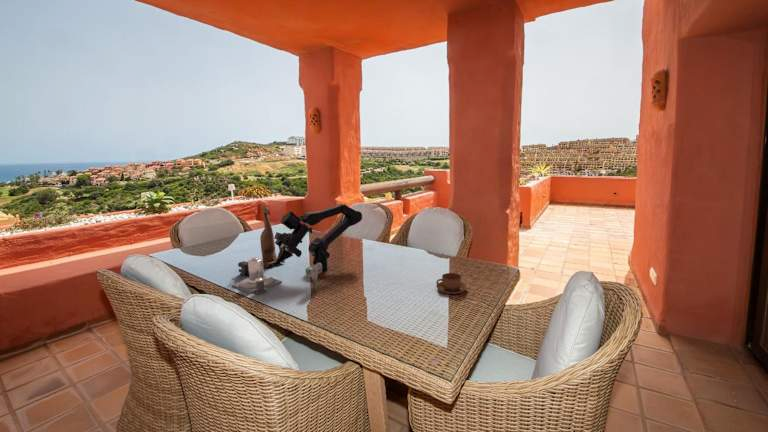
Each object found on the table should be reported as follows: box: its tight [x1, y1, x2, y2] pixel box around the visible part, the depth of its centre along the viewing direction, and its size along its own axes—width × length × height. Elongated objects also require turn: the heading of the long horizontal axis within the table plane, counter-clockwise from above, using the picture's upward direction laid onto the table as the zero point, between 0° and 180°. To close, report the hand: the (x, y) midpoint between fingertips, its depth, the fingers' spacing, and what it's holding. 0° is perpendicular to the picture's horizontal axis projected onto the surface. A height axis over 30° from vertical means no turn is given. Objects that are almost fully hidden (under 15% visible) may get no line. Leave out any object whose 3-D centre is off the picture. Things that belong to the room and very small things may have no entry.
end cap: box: [237, 260, 265, 278], centre depth 166 cm, size 10×7×7 cm
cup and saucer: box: [435, 272, 467, 295], centre depth 139 cm, size 12×12×6 cm
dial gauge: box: [254, 277, 268, 296], centre depth 142 cm, size 4×4×6 cm
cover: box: [246, 257, 267, 284], centre depth 151 cm, size 8×8×10 cm
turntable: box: [231, 275, 283, 294], centre depth 152 cm, size 15×15×2 cm
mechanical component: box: [304, 263, 323, 290], centre depth 144 cm, size 3×10×10 cm, turn 161°
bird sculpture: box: [259, 203, 286, 269], centre depth 178 cm, size 11×12×32 cm
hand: (276, 263), depth 156 cm, fingers closed
